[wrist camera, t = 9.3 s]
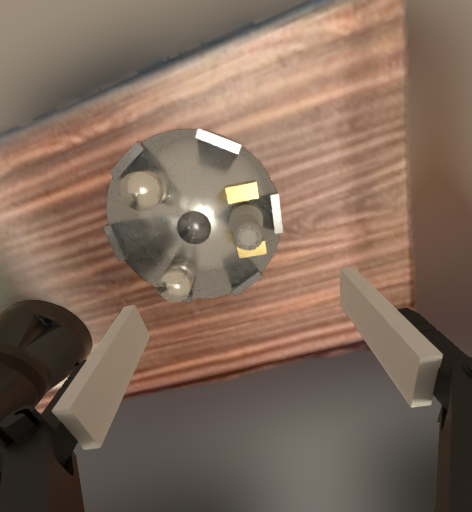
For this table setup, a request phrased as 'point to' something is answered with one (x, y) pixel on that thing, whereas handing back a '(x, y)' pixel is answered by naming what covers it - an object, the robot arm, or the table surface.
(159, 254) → the carrier plate
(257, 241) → the rook chess piece
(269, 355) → the table surface
